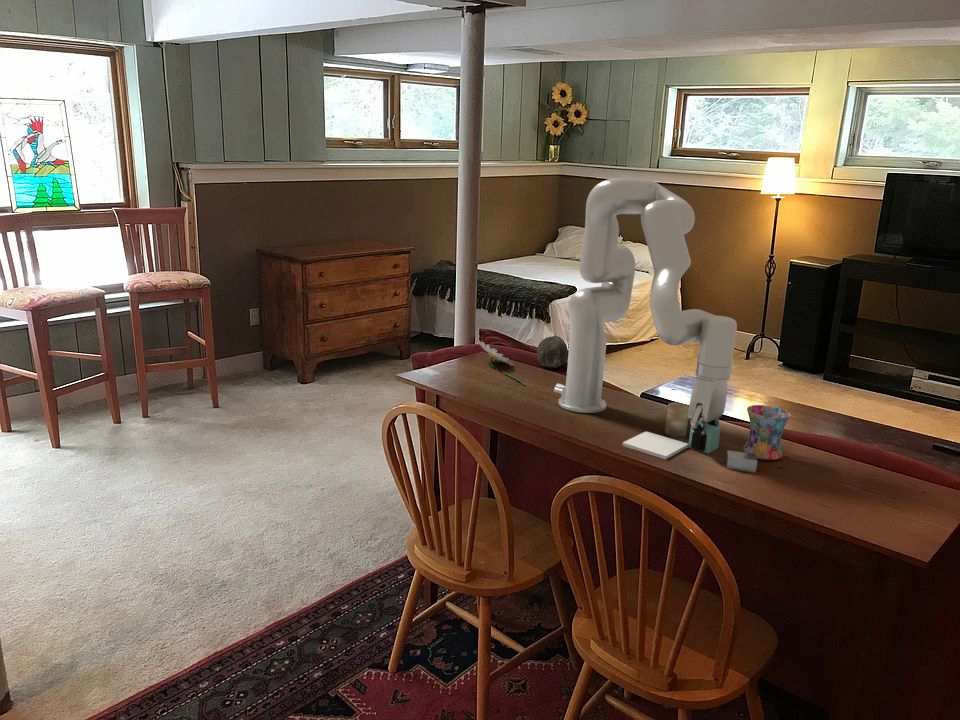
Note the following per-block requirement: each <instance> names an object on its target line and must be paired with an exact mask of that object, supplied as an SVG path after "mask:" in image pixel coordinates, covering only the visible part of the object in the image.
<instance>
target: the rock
mask: <svg viewBox="0 0 960 720" xmlns="http://www.w3.org/2000/svg"><path fill="white" fill-rule="evenodd" d="M536 354H537V359H538V361H539V363H540V364H541V366H543V367H544V368H548V369H549V368H550V369H557V368H559V367H562V366H563V364H565V363H566V362H568V354H569V348H568V346H567V343H566V342H565V340H564V339H563V338H561V337H560V336H557V335H553V336H547V337H545V338H544V339H542V340H540V342H539V343H538V347H537V349H536Z"/></svg>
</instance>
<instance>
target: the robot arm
mask: <svg viewBox="0 0 960 720" xmlns="http://www.w3.org/2000/svg"><path fill="white" fill-rule="evenodd" d="M618 215H640V221H641V222H640V223H641V227H642V230H643V234H644V238H645V241H646V245H647V249H648V252H649V256H650V257H649V258H650V260H651V263H652V268H653V277H652V281H651V286H650V294H649V308H650V314H651V316H652V321H653V324H654V327H655V330H656V332H657V335H658V336H659V338H660V339H661V341H663V343H665V344H667V345H668V346H669V345H670V346H681V345H682V346H683V345H685V344H686V345H687V344H691V343H696V342H697V343H698V342H699V344H698V345H699V346H698V350H697V351H698V352H697V358H696V359H697V360H696V367H695V375H694V376H695V380H694V383H693V386H692V389H691V395H690V399H689V400H690V401H689V405H688V406H689V411H688V419H690V420H691V421H690V425H691V427H692V428H693V429H692V432H693V434H692V442H691V448H690V449H692V448H693V450H695V449H696V451H699V450H700V451H699V452H702V451H704V450H705V446H706V438H707V435H706V434H705V433H706V429H707V425H708V424H709V425H713V426H717V427H719V426H720V420H721V416H723V414H724V413H725V407H726V402H727V394H728V382H729V381H730V380H731V373H732V365H733V359H734V354H735V353H734V350H735V343H736V338H737V331H738V323H737V321H736V320H735V319H734V318H732V317H730V316H729V317H728V316H724V315H715V314H713V313H710V312H707V311H705V310H702V309H699V308H698V309H697V308H692V309H686V310H682V309H681V306H680V301H679V295H678V290H679V284H680V281H681V279H682V277H683V276H684V274H685V273H686V271H688V269H689V268H690V266H691V263H692V260H691V259H692V258H691V257H690V253H689V249H688V246H687V242H686V238H685V235H686V234H688V233H689V232H691V230H692V229H693V227H694V226H695V225H694V224H695V222H696V215H695V211H694V209H693V207H692V206H691V204H689V203H688V202H687V201H686V200H685V199H683V198H682V197H680V196H679V195H677V194H675V193H674V192H673V191H671V190H669V189H667V188H666V187H664V186H663V185H661V184H659V183H658V182H655V181H653V180H652V179H648V178H631V177H614V178H613V177H612V178H609V179H605V180H603V181H601V182H599V183H597V184H596V185H595V186H594V187H593V188H592V189H591V191H590V192H589V194H588V196H587V199H586V203H585V223H584V233H583V238H582V243H581V244H582V246H581V253H580V260H579V274H580V277H581V278H582V279H583V280H584V281H586V282H588V283H591V284H600V283H601V286H591V287H590V286H589V287H585V288H581V289H579V290H577V291H575V293H573V294H572V296H571V297H570V299H569V302H568V306H567V308H568V309H567V310H568V321H569V339H568V340H569V341H568V357H567V370H566V379H565V381H566V382H565V385H564V384H562V383H556V384H555V387H554V389H553V391H554V392H555V393H557V394H561V397H560V398H559V399H558V405H559V407H561V408H562V409H564V410H567V411H571V412H575V413H580V414H581V413H582V414H584V413H585V414H595V413H601V412H603V411H605V410H606V409H607V405H608V404H607V402H606V401H605V400H604V399H602V393H603V392H602V391H603V382H604V371H605V362H606V352H607V351H606V350H607V337H606V333H605V329H604V323H612V322H616V321H619V320H621V319H623V318H624V317H625V316H626V315H627V313H628V311H629V309H630V304H631V299H632V293H633V292H632V291H633V287H634V280H635V274H636V273H635V272H636V260H635V257H634V256H635V255H634V254H633V252H632V250H631V249H630V248H629V247H628V246H626V245H624V244H622V243H621V244H620V243H618V240H619V236H620V235H619V234H620V226H619V221H618V219H617V216H618ZM702 418H703V419H702ZM699 423H703V428H702V426H701V425H700V424H699Z"/></svg>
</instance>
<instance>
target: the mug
mask: <svg viewBox="0 0 960 720" xmlns="http://www.w3.org/2000/svg"><path fill="white" fill-rule="evenodd" d="M746 410H747V415H748V420H749V435H748V439H747V440H746V443H745V444H744V445H743V448H742V450H743V452H744V453H751V454H756V457H757V460H762V461H763V460H764V461H775V460H780V459H781V458H782V457H783V452H782V448H781V447H782V445H781V442H782V441H781V440H782V434H783V432H784V430H785V426H786V425H787V423H788V422H789V420H790V418H791V417H792V414H791V412H789V411H787V410H786V409H784V408H780V407H776V406H772V405H765V404H754V405H749V406H748V407H747V408H746Z"/></svg>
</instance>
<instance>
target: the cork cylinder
mask: <svg viewBox="0 0 960 720" xmlns="http://www.w3.org/2000/svg"><path fill="white" fill-rule="evenodd" d="M688 411H689V405H688V404H685V403H683V402H682V403H681V402H669V403H668V405H667V411H666V412H667V413H666V419H665V429H664V433H665V434H666V433H667V434H666V435H668V434H669V435H668V436H670V435H671V437H674V436H676V438H681V437H682V436H683V437H685V436H687V429H688V424H689V423H688V421H689V417H688ZM683 437H682V438H683Z"/></svg>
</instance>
